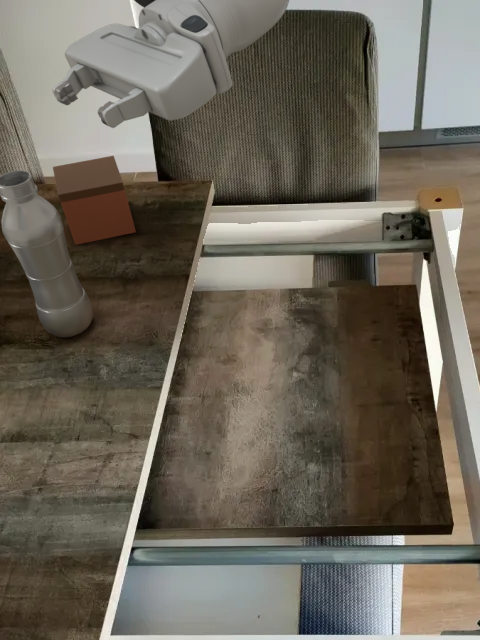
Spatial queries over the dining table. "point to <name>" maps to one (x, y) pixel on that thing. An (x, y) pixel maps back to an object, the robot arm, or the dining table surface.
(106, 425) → the dining table surface
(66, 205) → the step stand
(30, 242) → the plastic bottle
